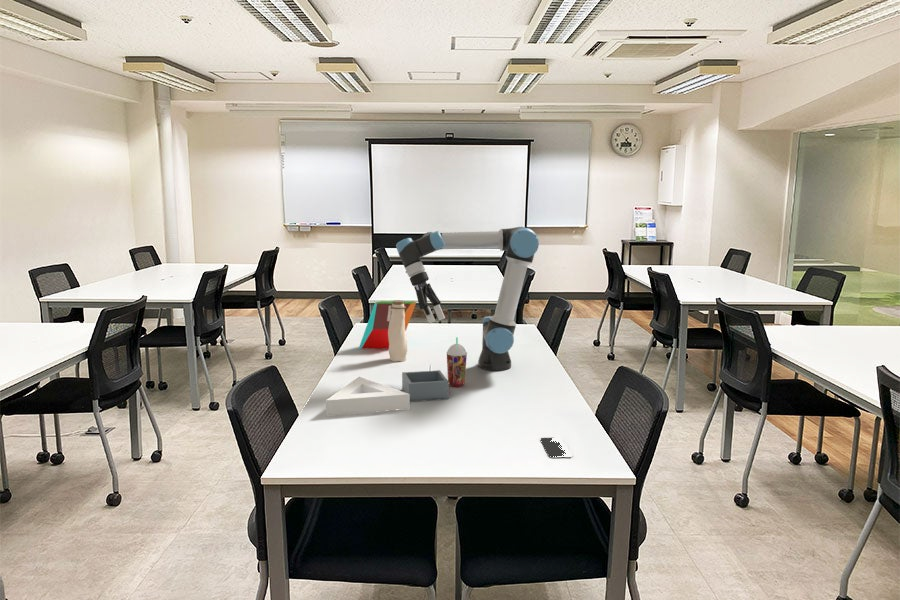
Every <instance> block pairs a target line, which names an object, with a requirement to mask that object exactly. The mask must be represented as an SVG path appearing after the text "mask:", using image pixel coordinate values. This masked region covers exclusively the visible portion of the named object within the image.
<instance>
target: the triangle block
mask: <svg viewBox="0 0 900 600" xmlns="http://www.w3.org/2000/svg"><path fill="white" fill-rule="evenodd" d="M396 409H406V410H410V394H408V393H405V392H403V390H399V389H395V388H393V387H390V386H388V385H384V384H382V383H378V382H375V381H372V380H371V379H367V378H364V377H361V376H357V378H355V379H353V380H352V381H351V382H349V383H348V384H347V385H345V386H344V387H343V388H342V389H340V390H338V391H337V392H336V393H333V395H331V396H330V397H329V398H327V399H326V400H325V413H326V415H325V417H330V416H332V415H333V416H341V415H343V414H346V415H354V414H353V413H358V414H366V413H365V412H370V413H377V412H376V411H382V412H387V411H386V410H394V411H397V410H396ZM343 416H344V415H343Z"/></svg>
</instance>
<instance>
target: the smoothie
mask: <svg viewBox="0 0 900 600" xmlns="http://www.w3.org/2000/svg"><path fill="white" fill-rule="evenodd" d="M458 339H459V338H458V337H457V336H455V343H454V344H452V345H451V346H450V347H448V349H447V351H446V365H447V369H446V370H447V380H448V381H449V385H448V386H451V387H454V388H458V387H463V386H464V383H465V381H466V380H465V379H466V368H467V358H468V357H467V356H468V351H466V348H465V346H463V345H461V344H460V343H459V341H458Z"/></svg>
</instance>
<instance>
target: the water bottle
mask: <svg viewBox="0 0 900 600" xmlns="http://www.w3.org/2000/svg"><path fill="white" fill-rule="evenodd" d="M392 301H393V304H392V306H389V309H388V318H387V321H390V322H389V328H388V339H389V348H388V354H389V360H390V361H391V360H392V361H391V362H396V361H400V362H405V361H407V355H408V339H407V333H406V332H405V312H404V308H406V306H404V304H403V301H404V300H403V299H402V300H400V299H398V300H397V299H395V300H392Z"/></svg>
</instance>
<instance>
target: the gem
mask: <svg viewBox="0 0 900 600" xmlns="http://www.w3.org/2000/svg"><path fill="white" fill-rule="evenodd" d="M393 301H394V300H392V301H391V300H388V301H386V300H385V301H383V300H382V301H377V302H374V304H373V307H372V309H371V313H370V316H369V319H368V322H367V323H366V327H365V330H364V333H363V335H362V339H361V341H360V344H359V346H358V348H360V349H361V348H375V349H389V339H388V328H389V322H390V321H387V318H388V309H389V306H392V304H393ZM402 301H403V304H404V306H406V308H404V312H405V332H406V331H407V328H408V326H409V323H410V322H411V321H410V320H411V318H412V316H413V314H414V313H413V312H414V310H415V307H416V304H417V302H416V301H415V300H414V301H413V300H411V301H409V300H407V301H406V300H402Z"/></svg>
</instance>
